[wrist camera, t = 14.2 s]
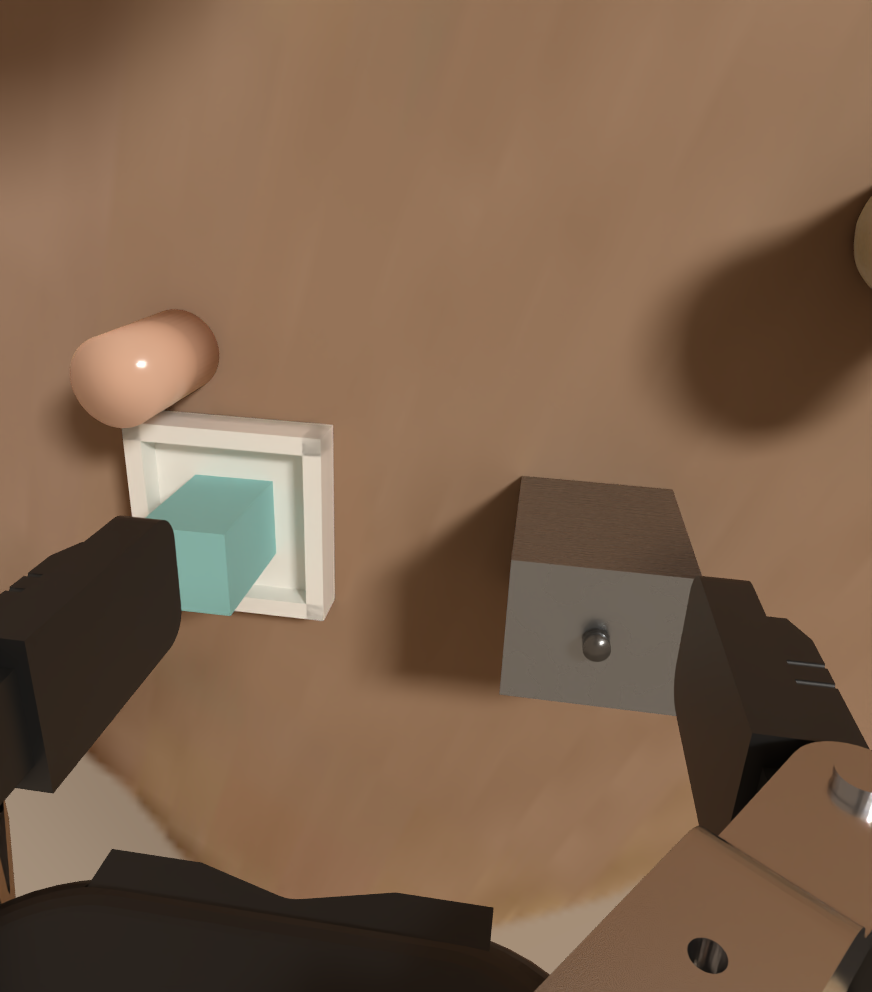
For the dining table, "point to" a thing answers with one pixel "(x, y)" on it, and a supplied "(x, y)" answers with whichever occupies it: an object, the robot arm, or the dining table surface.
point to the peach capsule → (143, 367)
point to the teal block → (220, 539)
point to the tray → (259, 456)
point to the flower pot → (864, 243)
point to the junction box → (596, 595)
